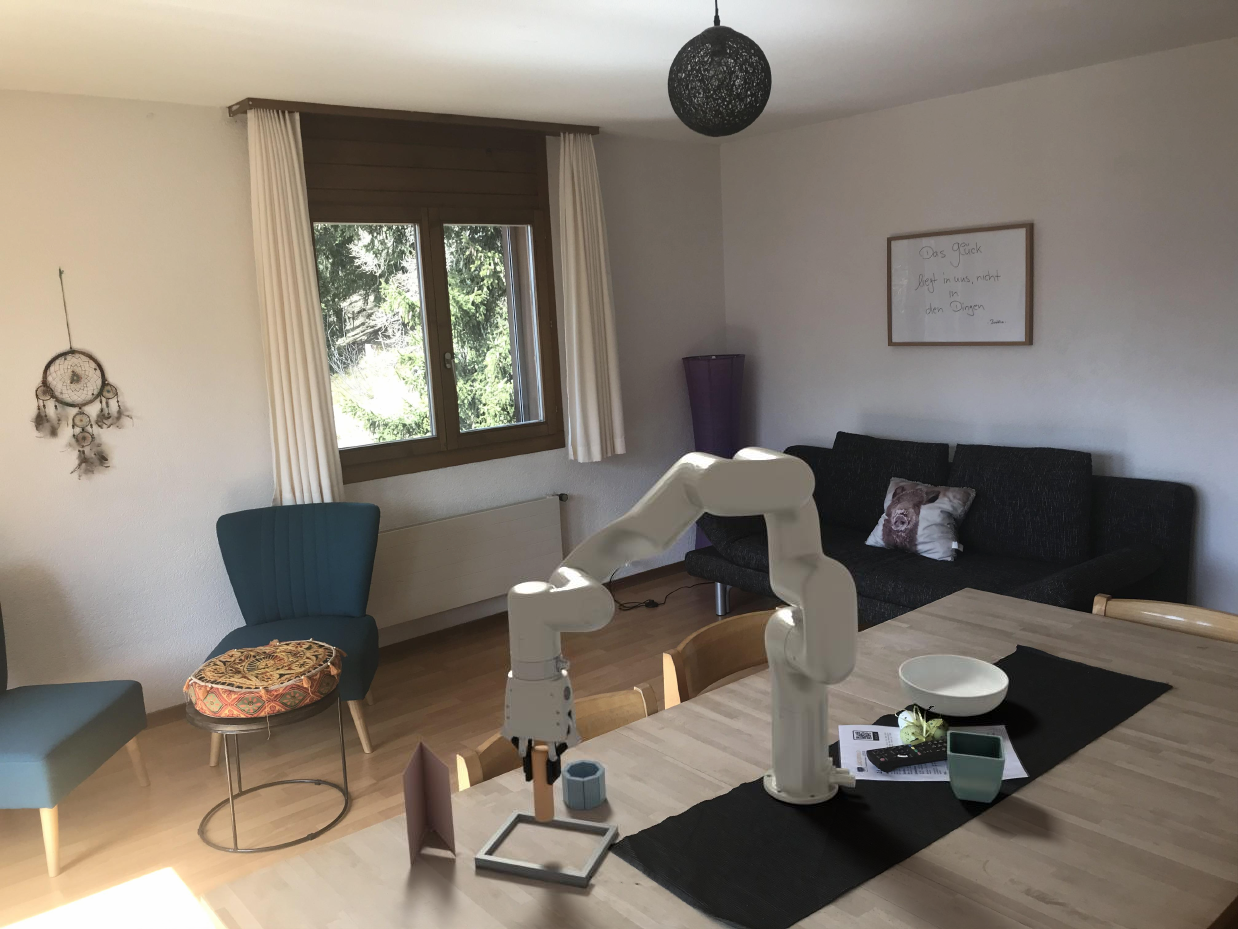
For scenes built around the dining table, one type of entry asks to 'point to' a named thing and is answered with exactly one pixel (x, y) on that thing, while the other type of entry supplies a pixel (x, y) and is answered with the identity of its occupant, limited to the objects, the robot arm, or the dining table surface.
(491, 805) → the dining table surface
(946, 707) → the serving bowl
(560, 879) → the grey rectangular frame
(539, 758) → the dowel
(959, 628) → the dining table surface
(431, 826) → the greeting card
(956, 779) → the flower pot
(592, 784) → the cup
